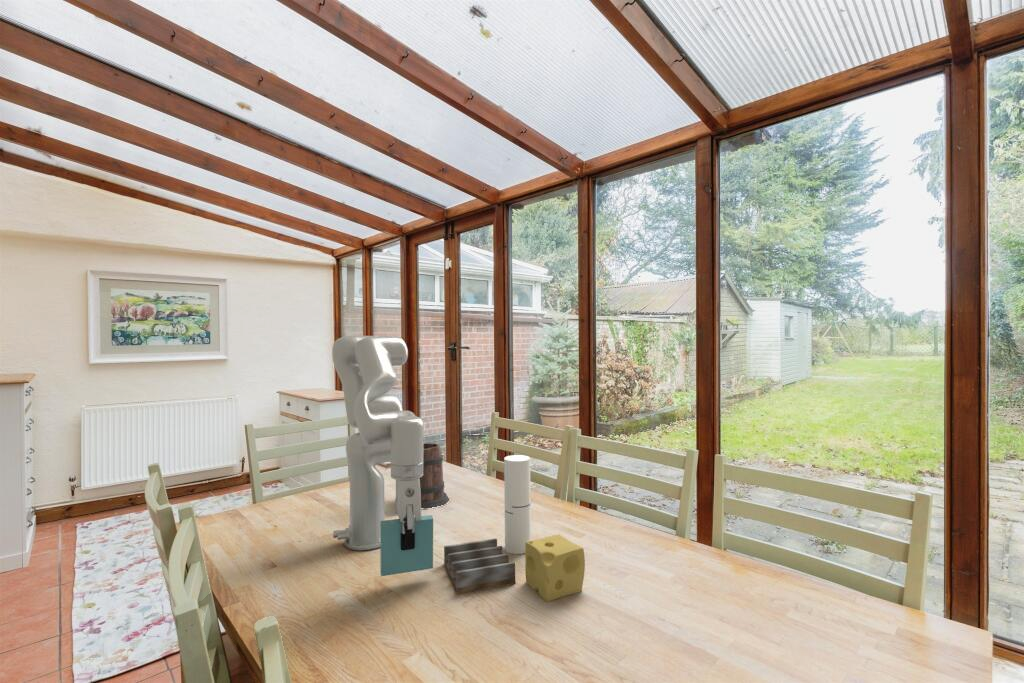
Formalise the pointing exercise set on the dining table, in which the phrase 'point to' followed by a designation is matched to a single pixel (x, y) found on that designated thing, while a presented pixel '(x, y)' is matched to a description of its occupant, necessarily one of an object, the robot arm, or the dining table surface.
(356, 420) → the robot arm
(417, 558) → the teal slab
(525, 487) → the cylindrical container
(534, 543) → the cheese
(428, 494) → the tankard
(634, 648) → the dining table surface
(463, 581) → the rack
